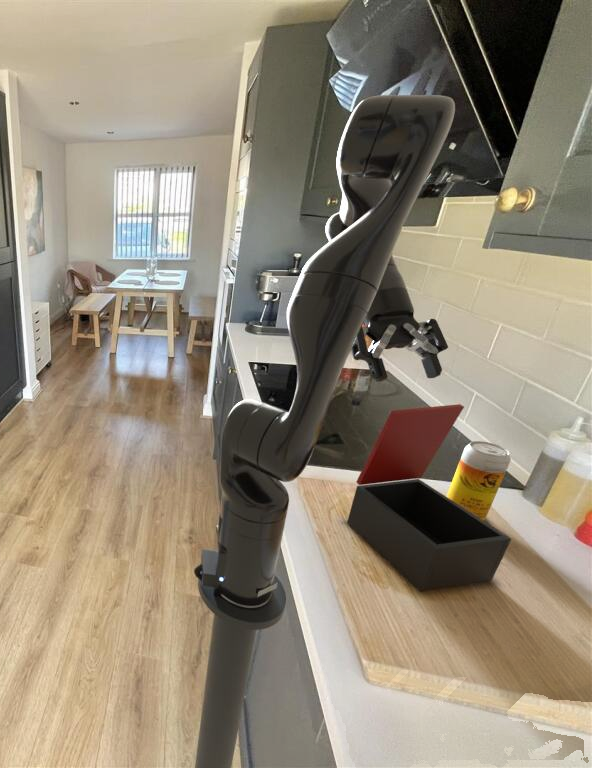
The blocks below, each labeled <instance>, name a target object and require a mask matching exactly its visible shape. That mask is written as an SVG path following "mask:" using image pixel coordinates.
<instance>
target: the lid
mask: <svg viewBox="0 0 592 768" xmlns="http://www.w3.org/2000/svg"><path fill="white" fill-rule="evenodd" d="M464 408H465V406H464V405H462V404H461V403H459V404H447V405H436V406H428V407H416V408H405V409H396V410H391V411H389V414H388V417H387V419H386V420H385V422H384V424H383V427H382V428H381V431H380V433H379V435H378V436H377V439H376V441H375V443H374V445H373V446H372V448H371V450H370V453H369V455H368V457H367V459H366V461H365V463H364V466H363V467H362V469H361V471H360V473H359V475H358V478H357V479H356V481H355V483H356V484H357V485H358V486H360V485H369V484H378V483H387V482H396V481H405V480H413V479H422V477H423V475H424V474H425V472H426V471H427V469H428V468H429V466H430V464H431V462H432V461H433V459H434V458H435V456H436V454H437V452H438V451H439V450H440V448H441V446H442V444H443V443H444V441H445V439H446V438H447V436H448V434H449V433H450V431H451V430H452V428H453V427H454V425H455V423H456V421H457V420H458V419H459V416H460V415H461V413H462V412H463V410H464Z"/></svg>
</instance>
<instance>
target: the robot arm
mask: <svg viewBox="0 0 592 768" xmlns="http://www.w3.org/2000/svg"><path fill="white" fill-rule="evenodd" d="M455 112H456V103H455V100H454V99H453V98H452V97H451V96H446V95H440V94H439V95H438V94H395V95H394V94H380V95H372V96H369V97H367V98H365V99H363V100H361V101H360V102H359V103H358V104H357V105H356V107H355V108H354V109H353V111H352V113H351V114H350V116H349V119H348V120H347V123H346V125H345V127H344V130H343V133H342V136H341V138H340V142H339V145H338V150H337V155H336V172H337V177H338V182H339V187H340V189H341V192H342V193H341V194H342V197H341V204H340V206H339V207H340V208H339V212H337V213H334V214H333V215H330V217H329V218H328V220H327V222H326V225H325V235H326V238H327V239H328V242H327V243H326V244H325V245H324V246H322V247H321V248H320V249H319V250H318V251H316V252H315V253H314V254H313V255H312V256H311V257H310V258H309V259H308V260H307V262H306V263H305V265H304V266H303V267H302V270H301V273H300V274H299V277H298V280H297V282H296V285H295V287H294V290H293V291H292V295H291V297H290V300H289V301H288V302H289V303H288V306H287V308H286V324H287V329H288V335H289V339H290V343H291V346H292V352H293V355H294V359H295V364H296V365H295V366H296V374H297V375H296V376H297V377H296V384H295V385H296V386H295V392H294V394H293V395H294V396H293V399H292V403H291V406H290V408H289V410H286V409H283V408H282V407H278V406H275V405H273V404H269V403H267V402H264V401H262V400H261V401H260V400H257V399H253V398H247V399H243V400H241V401H239V402H238V403H236V404H235V405H234V406H233V407H232V409H231V410H230V412H229V413H228V415H227V416H226V420H225V422H224V425H223V429H222V434H221V441H220V443H221V444H220V463H219V464H220V466H219V486H220V489H221V500H220V506H219V507H220V509H219V517H218V525H215V530H214V537H213V547H212V549H206V548H205V549H204V548H202V549H201V555H200V564H198V565H197V566H195V568H194V570H193V573H194V576H195V577H196V578H197V580H198V579H199V580H201V581H202V585H203V586H210V587H213V594H214V596H218V597H221V598H222V599H224V600H225V601H226V602H228V603H229V604H231V605H233V606H235V607H238V608H242V609H247V610H255V609H260V608H262V607H264V606H266V605H267V604H268V603H269V601H270V599H271V595H272V590H274V589H276V588H277V583H276V584H274V585H273V581H274V576H275V575H276V571H277V566H278V562H279V561H278V560H279V555H280V550H281V546H282V540H283V535H284V529H285V525H286V519H287V516H288V509H289V505H290V496H289V495H290V494H289V492H288V490H287V487H286V486H285V485H284V484H283V483H282V482H284V483H289V482H292V481H294V480H295V479H297V478H298V477H299V476H300V475H301V474H302V473H303V471H304V470H305V469H306V467H307V465H308V463H309V462H310V460H311V458H312V455H313V453H314V451H315V448H316V446H317V443H318V440H319V437H320V435H321V431H322V430H323V429H322V428H323V425H324V422H325V420H326V416H327V414H328V410H329V407H330V404H331V401H332V399H333V395H334V392H335V389H336V387H337V383H338V381H339V378H340V376H341V374H342V371H343V369H344V366H345V364H346V361H347V359H348V357H349V355H350V352H351V354H352V358H353V359H354V360H355V361H360V360H361V361H364V362H366V363H367V365H368V370H369V372H370V376H371V378H372V379H374V380H375V382H377V383H380V382H384V381H386V380H388V373H387V371H386V367H385V364H384V361H383V358H382V357H381V355H382V353H383V352H384V350H391V349H393V348H395V349H407V350H408V351H409V352H413V353H415V354H417V355H418V356H419V357H420V358H421V359H420V361H421V363H422V366H423V369H424V372H425V375H426V377H427V379H435V378H438V377H439V376H441V374H442V372H443V368H442V364H441V362H440V360H439V357H438V354H439V353H441V352H443V351H446V350H447V349H449V345H448V343H447V340H446V339H445V337H444V334H443V332H442V330H441V328H440V325H439V323H438V321H437V319H435V318H430V319H429V320H427V321H421V322H418V321H417V320H416V318H415V317H414V316H415V315H414V314H415V308H414V306H413V303H412V300H411V297H410V295H409V292H408V289H407V286H406V283H405V280H404V278H403V276H402V274H401V272H400V271H399V269H398V266H397V263H396V261H395V258H394V255H393V251H394V249H395V246H396V244H397V241H398V239H399V237H400V234H401V232H402V230H403V228H404V225H405V223H406V221H407V219H408V217H409V215H410V212H411V211H412V209H413V207H414V205H415V203H416V201H417V198H418V196H419V194H420V192H421V191H422V188H423V187H424V184H425V183H426V180H427V179H428V176H429V175H430V173H431V171H432V168H433V166H434V165H435V163H436V161H437V158H438V157H439V154H440V152H441V150H442V149H443V146H444V144H445V141H446V139H447V137H448V135H449V133H450V130H451V127H452V124H453V121H454V118H455V114H456V113H455ZM392 181H393V182H392ZM366 336H367V337H368V338H369V339H370V340H372V342H371V343H370V346H369V347H368V345H367V342H366V341H367V340H366ZM414 341H416V342H414ZM201 571H202V574H201V573H200V572H201Z"/></svg>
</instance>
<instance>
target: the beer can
mask: <svg viewBox="0 0 592 768" xmlns="http://www.w3.org/2000/svg"><path fill="white" fill-rule="evenodd" d="M510 455H511V452H510V451H509V450H508V449H506V447H503V446H500V445H498V444H495V443H492V442H488V441H483V440H482V441H481V440H474V441H470V442H469V444H467V445H466V446H465V447H464V448H463V451H462V454H461V457H460V459H459V461H458V464H457V467H456V470H455V473H454V476H453V477H452V481H451V483H450V486H449V488H448V491H447V493H446V495H445V496H446V497H447V498H449V499H450V500H452V501H454V502H455V503H457V504H458V505H460V506H461V507H463V508H464V509H466V510H467V511H469V512H471V513H472V514H474V515H475V516H477V517H478V518H480V519H481V520H483V521H484V522H485V520H486V518H487V517H488V514H489V512H490V510H491V507H492V505H493V502H494V500H495V498H496V495H497V493H498V491H499V488H500V486H501V484H502V481H503V479H504V477H505V475H506V472H507V470H508V468H509V466H510V463H511V461H512V459H511V456H510Z"/></svg>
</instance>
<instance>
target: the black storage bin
mask: <svg viewBox="0 0 592 768" xmlns="http://www.w3.org/2000/svg"><path fill="white" fill-rule="evenodd" d="M446 496H447V495H444V494H443V493H442V492H440V491H439V490H437V489H435V488H434V487H432V486H430V485H429V484H427V483H426V482H425V481H423V480H422V479H421V478H417V479H409V480H400V481H391V482H382V483H373V484H364V485H356V488H355V492H354V496H353V499H352V503H351V507H350V511H349V513H348V518H347V522H346V524H347V526H349V527H350V528H351V529H352V530H353V531H354V532H355V533H356V534H358V535H359V536H360V537H361V538H362V539H363V540H364V541H365V542H366V543H367V544H369V546H371V547H372V548H373V549H374V550H375V551H376V553H378V554H379V555H380V556H382V558H384V560H385V561H387V562H388V563H389V564H390V565H391V566H392V567H393V568H394V569H395V570H396V571H397V572H399V573H400V574H401V575H402V576H403V577H404V578H405V579H406V580H407V581H408V582H409V583H410V584H411V585H412V586H414V587H415V588H416V589H417V590H418V591H419V592H420V593H421V592H427V591H434V590H435V591H436V590H440V589H447V588H448V589H449V588H456V587H462V586H470V585H476V584H483V583H491V582H492V581H493V579H494V577H495V574H496V572H497V570H498V568H499V566H500V564H501V563H502V560H503V558H504V556H505V554H506V551H507V549H508V547H509V545H510V543H511V541H512V538H511V537H509V536H508V535H507V534H505V533H503V532H501V531H500V530H499V529H497V528H495V527H494V526H492V525H491V524H489V523H488V522H487V521H485V520H484V521H483V520H481V519H480V518H478V517H477V516H475V515H474V514H472V513H471V512H469V511H467V510H466V509H464V508H463V507H461V506H460V505H458V504H457V503H455V502H454V501H452V500H450V499H449V498H447V497H446Z"/></svg>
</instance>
